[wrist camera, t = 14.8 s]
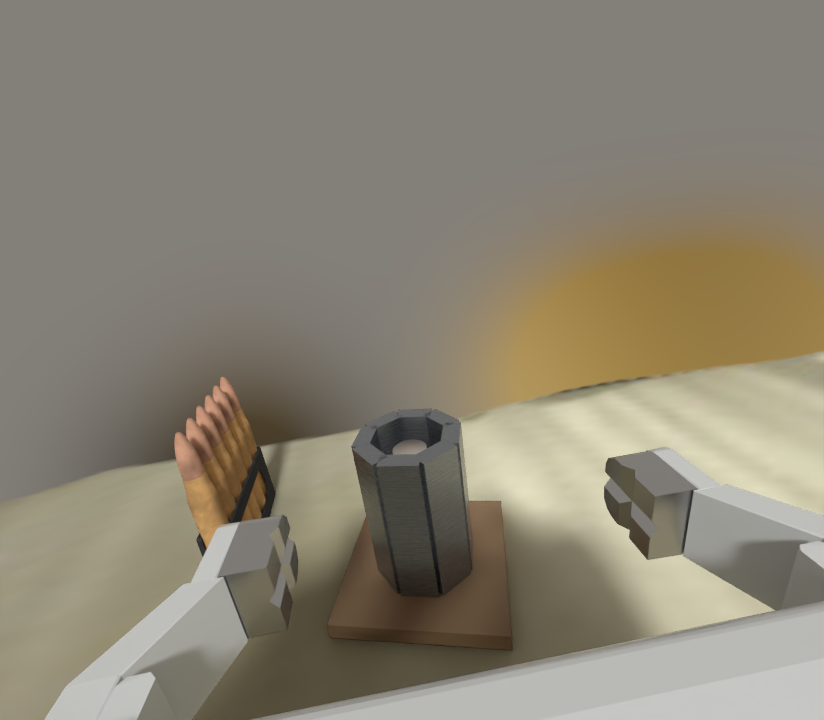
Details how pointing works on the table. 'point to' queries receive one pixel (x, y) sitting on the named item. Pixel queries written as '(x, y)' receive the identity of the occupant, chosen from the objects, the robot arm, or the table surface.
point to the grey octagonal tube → (416, 501)
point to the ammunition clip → (222, 466)
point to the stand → (428, 616)
